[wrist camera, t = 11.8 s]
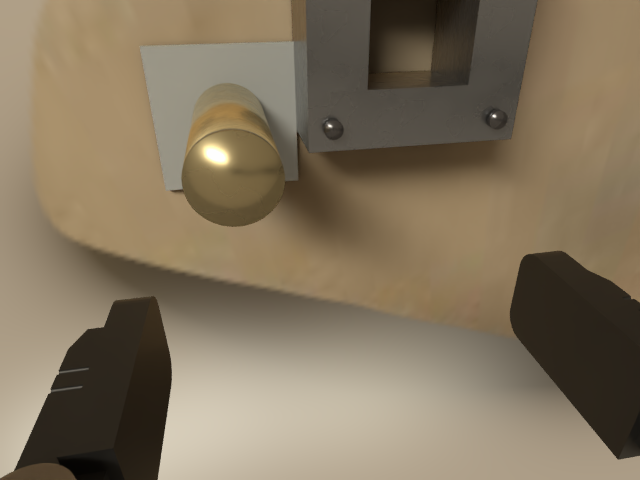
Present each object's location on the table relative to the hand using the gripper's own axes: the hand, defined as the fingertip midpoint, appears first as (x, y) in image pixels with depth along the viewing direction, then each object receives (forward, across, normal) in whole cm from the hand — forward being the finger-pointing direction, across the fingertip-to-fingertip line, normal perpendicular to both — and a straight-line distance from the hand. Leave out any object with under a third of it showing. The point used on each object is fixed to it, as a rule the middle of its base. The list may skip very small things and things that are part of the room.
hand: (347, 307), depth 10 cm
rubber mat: (+26, +3, +2) cm, 26 cm away
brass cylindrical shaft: (+26, +3, +2) cm, 26 cm away
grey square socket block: (+26, -9, -4) cm, 28 cm away
